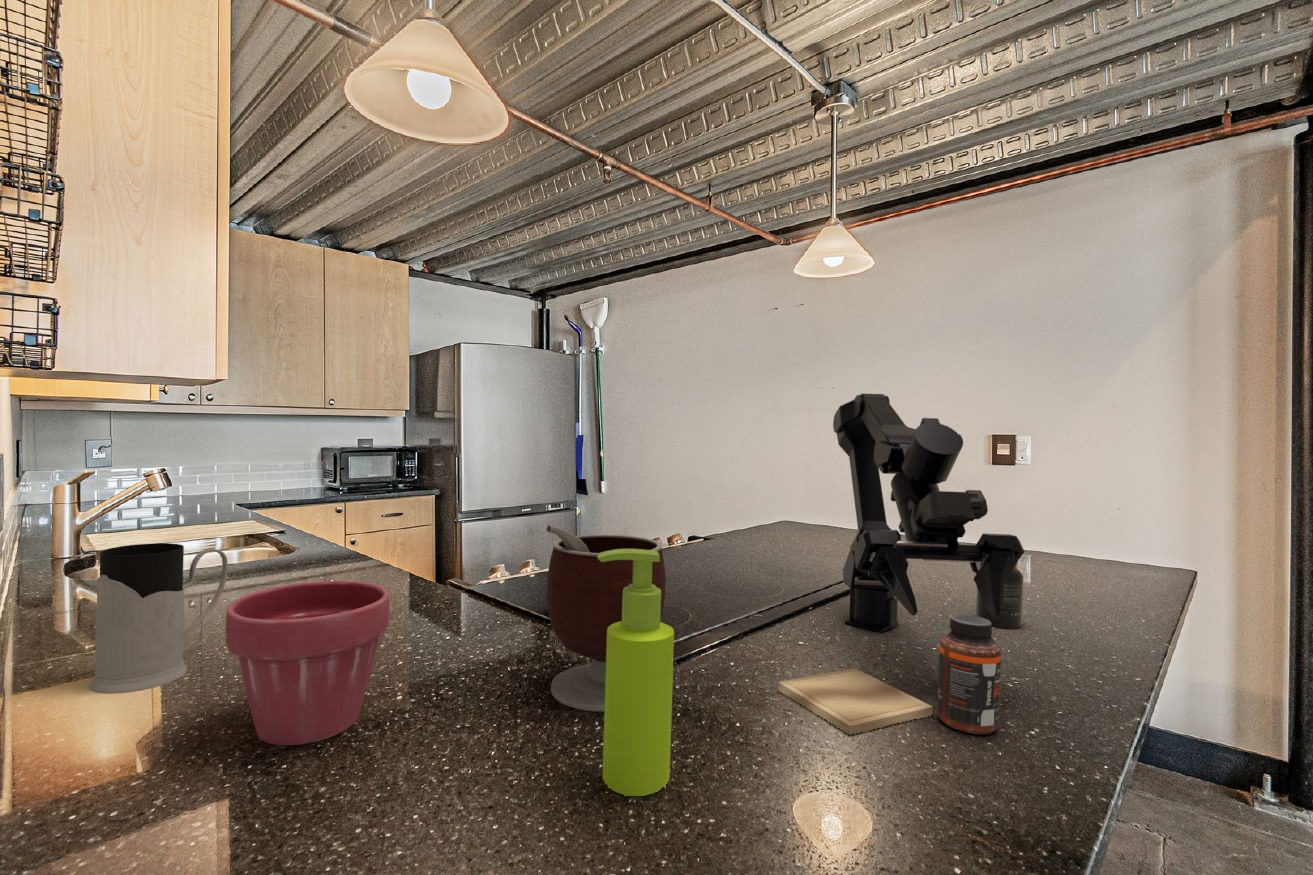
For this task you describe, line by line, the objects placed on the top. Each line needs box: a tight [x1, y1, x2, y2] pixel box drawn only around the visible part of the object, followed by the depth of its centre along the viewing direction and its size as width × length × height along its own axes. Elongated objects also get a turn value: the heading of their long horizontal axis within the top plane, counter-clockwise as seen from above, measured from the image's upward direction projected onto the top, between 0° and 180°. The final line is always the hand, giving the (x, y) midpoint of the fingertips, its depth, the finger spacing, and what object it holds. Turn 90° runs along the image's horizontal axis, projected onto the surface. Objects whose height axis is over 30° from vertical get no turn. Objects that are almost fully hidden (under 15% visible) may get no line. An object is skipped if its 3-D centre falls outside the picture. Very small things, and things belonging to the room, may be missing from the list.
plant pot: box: [225, 580, 390, 746], centre depth 62 cm, size 14×14×13 cm
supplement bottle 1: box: [936, 614, 1002, 735], centre depth 67 cm, size 6×6×11 cm
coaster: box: [777, 667, 934, 736], centre depth 71 cm, size 12×12×1 cm
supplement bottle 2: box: [975, 562, 1024, 630], centre depth 105 cm, size 7×7×12 cm
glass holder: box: [88, 542, 229, 694], centre depth 75 cm, size 9×14×15 cm, turn 160°
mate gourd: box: [546, 524, 667, 712], centre depth 73 cm, size 16×14×20 cm
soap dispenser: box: [597, 549, 675, 797], centre depth 54 cm, size 6×7×20 cm
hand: (955, 615), depth 71 cm, fingers open, 9 cm apart
